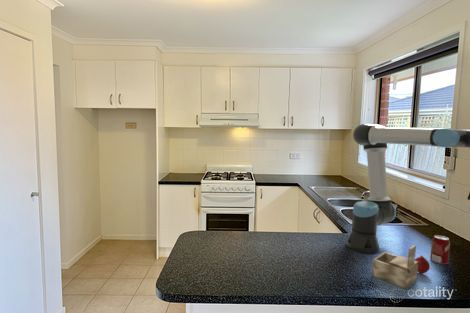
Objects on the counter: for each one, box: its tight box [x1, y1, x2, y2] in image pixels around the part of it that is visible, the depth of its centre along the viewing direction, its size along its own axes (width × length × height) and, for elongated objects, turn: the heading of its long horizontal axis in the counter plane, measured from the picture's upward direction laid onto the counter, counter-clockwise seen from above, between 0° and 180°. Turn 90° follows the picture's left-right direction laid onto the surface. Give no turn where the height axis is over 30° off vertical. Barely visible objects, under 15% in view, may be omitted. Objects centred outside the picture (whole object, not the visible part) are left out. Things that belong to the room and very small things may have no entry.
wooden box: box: [371, 251, 420, 290], centre depth 114 cm, size 14×12×8 cm
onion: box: [415, 254, 431, 275], centre depth 118 cm, size 6×6×8 cm
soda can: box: [429, 234, 451, 265], centre depth 130 cm, size 7×7×12 cm
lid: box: [390, 244, 418, 270], centre depth 111 cm, size 7×10×8 cm
